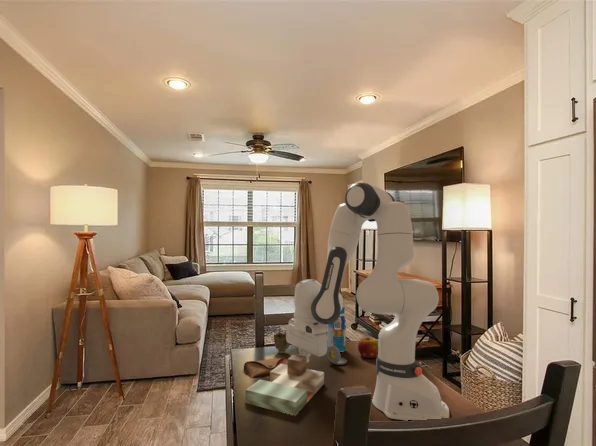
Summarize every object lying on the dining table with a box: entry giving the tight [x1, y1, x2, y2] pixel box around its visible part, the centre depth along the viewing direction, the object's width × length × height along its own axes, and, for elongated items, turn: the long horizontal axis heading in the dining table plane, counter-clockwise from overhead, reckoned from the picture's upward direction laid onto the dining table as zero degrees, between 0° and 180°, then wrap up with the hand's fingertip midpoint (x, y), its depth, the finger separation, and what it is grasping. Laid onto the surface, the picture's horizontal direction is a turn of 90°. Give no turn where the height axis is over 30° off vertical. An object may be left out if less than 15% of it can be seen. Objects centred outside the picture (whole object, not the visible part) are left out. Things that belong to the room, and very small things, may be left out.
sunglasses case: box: [243, 356, 288, 379], centre depth 132 cm, size 18×7×7 cm
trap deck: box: [244, 364, 325, 417], centre depth 114 cm, size 17×24×4 cm
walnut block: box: [287, 354, 307, 376], centre depth 121 cm, size 5×5×5 cm
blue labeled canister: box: [326, 305, 347, 353], centre depth 157 cm, size 8×8×20 cm
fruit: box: [357, 336, 378, 359], centre depth 149 cm, size 10×9×8 cm
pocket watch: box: [326, 340, 348, 366], centre depth 141 cm, size 8×8×10 cm
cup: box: [273, 332, 291, 355], centre depth 151 cm, size 8×7×8 cm
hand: (304, 361), depth 127 cm, fingers closed
